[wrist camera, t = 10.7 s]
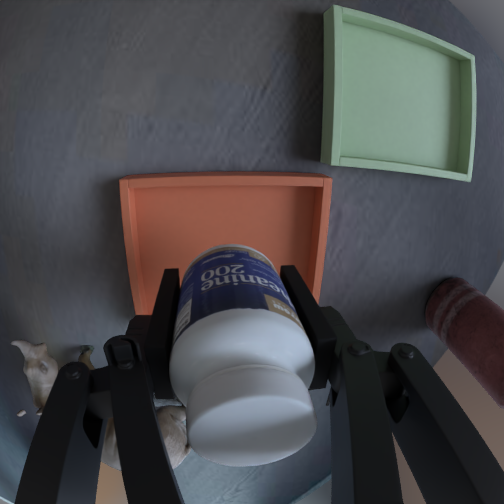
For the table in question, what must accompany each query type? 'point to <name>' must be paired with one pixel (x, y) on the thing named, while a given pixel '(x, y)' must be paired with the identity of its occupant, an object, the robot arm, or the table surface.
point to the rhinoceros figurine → (170, 418)
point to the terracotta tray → (222, 222)
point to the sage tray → (396, 98)
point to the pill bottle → (241, 360)
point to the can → (470, 331)
